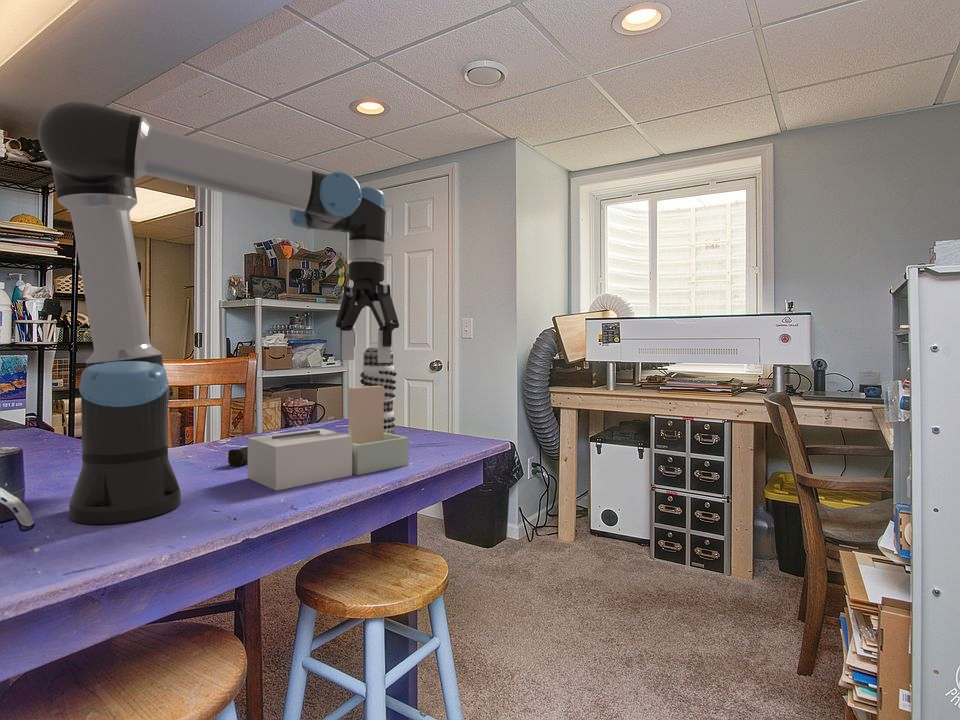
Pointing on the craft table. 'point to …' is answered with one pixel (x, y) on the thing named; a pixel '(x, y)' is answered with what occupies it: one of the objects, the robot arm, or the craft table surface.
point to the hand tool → (238, 457)
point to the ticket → (366, 414)
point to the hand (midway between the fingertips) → (365, 361)
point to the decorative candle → (381, 382)
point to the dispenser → (299, 458)
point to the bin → (380, 454)
